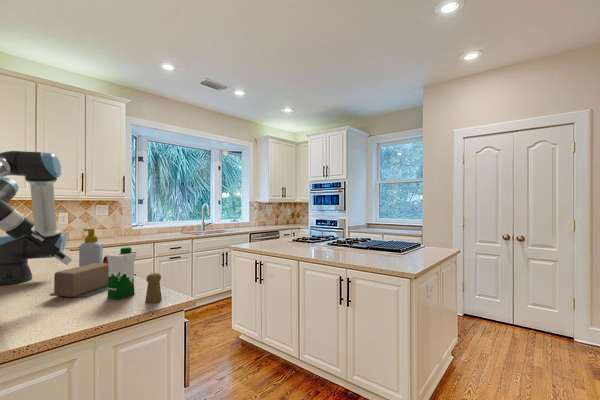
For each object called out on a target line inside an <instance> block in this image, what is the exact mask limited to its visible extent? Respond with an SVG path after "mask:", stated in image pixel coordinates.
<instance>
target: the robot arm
mask: <svg viewBox="0 0 600 400" xmlns="http://www.w3.org/2000/svg"><path fill="white" fill-rule="evenodd" d="M61 175H62V166H61V162H60V159H59V157H58V156H57V155H56V154H54V153H52V152H51V153H50V152H45V151H21V150H9V151H8V150H7V151H3V152H0V230H1V231H2V232H5V234H6V235H3V236H0V286H8V285H13V284H14V285H15V284H20V283H25V282H27V281H31V280H32V279H33V273H32V271H31V269H30V266H29V264H28V260H32V259H37V260H38V259H53V258H55V259H56V260H58V261H59V262H61V263H62V264H64V265H65V266H68V265H69V264H70V263H71V262H72V261H73V259H72V258H71V257H70V256H68V255H67V254H66V253H64V250H65V248H66V242H67V237H66V235H65V234H63V233H62V231H61V230H60V229H58V228H57V213H56V201H55V199H56V198H55V187H54V184H55V182H57V180H58V178H59V177H61ZM6 176H15V177H16V176H18V177H19V176H20V177H24V179H25V182H27V183H28V184H30V185H29V186H30V196H31V197H30V198H31V206H32V207H31V208H32V219H33V221H31V220H30V219H29V218H27V217H25V215H24V214H22V213H21V212H19V211H18V210H17V209H15V208H14V207H12V206H10V204H9V203H10V202H11V201H12V199H13V198H14V197H15V196H16V195H17V193H18V191H19V185H18V183H17V182H16V181H15V180H14V179H12V178H10V177H6ZM32 228H34V229H32Z"/></svg>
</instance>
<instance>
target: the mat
mask: <svg viewBox="0 0 600 400" xmlns="http://www.w3.org/2000/svg"><path fill="white" fill-rule="evenodd" d="M104 291H108V286H105V287H102V288H99V289H96V290H93V291H90V292H87V293H84V294H81V295H78V296H75V297H77V298H89V297H92V296H94V295H96V294H100V293H103V292H104ZM49 295H50V296H55V294H54V292H51V293H49Z"/></svg>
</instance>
